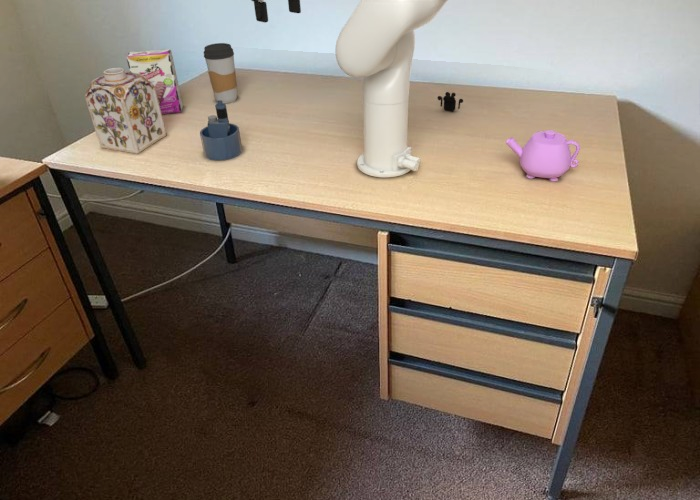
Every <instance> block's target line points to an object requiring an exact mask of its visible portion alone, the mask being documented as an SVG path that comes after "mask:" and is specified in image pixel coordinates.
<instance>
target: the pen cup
mask: <svg viewBox="0 0 700 500" xmlns="http://www.w3.org/2000/svg"><path fill="white" fill-rule="evenodd" d="M229 124H230V133H231V135H229V136H225V137H220V138H210V135H209V130H208V125H206V126H205V127H202V128H201V130H200V131H199V137H200V141H201V146H202V150H203V155H204V157H205V158H206V159H208V160H211V161H220V162H221V161H227V160H228V161H229V160H232V159H235V158H237V157H238V156H240V155H241V154H242V152H243V145H242V138H241V132H240V127H239V126H238V125H237V124H234V123H231V122H229Z"/></svg>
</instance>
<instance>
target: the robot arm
mask: <svg viewBox="0 0 700 500" xmlns="http://www.w3.org/2000/svg"><path fill="white" fill-rule="evenodd" d="M250 1H251V2H253V6H254V13H255V19H256V22H261V23H268V22H269V15H268V14H269V13H268V6H267V2H266V1H264V0H250ZM448 1H449V0H360V1H359V3H358V4H357V5H356V7H355V8H354V10H353V12H352V13H351V15H350V16H349V18H348V19H347V20H346V22H345V24H344V25H343V27H342V29H341V30H340V32H339V34H338V36H337V39H336V42H335V51H334V53H335V58H336V62H337V66H339V68H340V69H341V71H342V72H343V73H344V74H346V75H347V76H349V77H352V78H355V79H356V78H357V79H363V81H362V126H363V128H362V129H363V153H362V154H361V155H359V156H358V158H357V160H356V165H357V166H356V167H357V169H358V170H359V171H360V172H361V173H363V174H365V175H367V176H370V177H375V178H396V177H401V176H403V175H405V174H407V173H409V172H410V171H413V172H417V171H418V170H419V169H420V164H421V160H422V159H421V157H418V156H414V155H413V154H412V147H411V146H408V143H409V142H408V138H409V101H410V100H409V99H410V80H411V70H412V69H411V68H412V64H413V59H414V55H415V54H414V53H415V47H416V34H415V30H417V29H419V28H421V27H424V26H425V25H428V24H429V23H430V22H432V21H433V19H434V18H436V16H437V15H438V14H439V12H440V11H441V10H442V9H443V7H444V6H445V5H446V3H447V2H448ZM287 4H288V11H289V13H294V14H301V13H302V9H301V0H287Z"/></svg>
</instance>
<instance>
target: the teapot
mask: <svg viewBox="0 0 700 500" xmlns="http://www.w3.org/2000/svg"><path fill="white" fill-rule="evenodd" d="M505 144H506V145H507V146H508V148H510V149H511V151H512V152H513V153H514V154H516V155H517V156H518V158H519V164H520V166H521V168H522V170H523V171H524V173H526V178H527V179H535V178H544V179H548V180H549V181H551V182H558V181H559V178H560V177H562V176H563V175H564V174H566V173H567V172H568V171H569V169H570V168H577V167H578V165H579V163H580V162H579V160H578V159H576V158H577V156H578V154H579V153H580V150H581V146H580V143H579V142H578V141H576V140H573V139H570V140H567V138H566V136H565V135H564V134H562V133H560V132H557V131H555V130H552V129H547V130H540V131H536V132H535V133H533V134H532V136H530V138H529V139H528V140H527V142H526V143H525V144H524V146H523V147H522V146H521V145H520V144H519V143H518V142H517V141H516V139H515V138H514V137H513V136H512V137H509V138H508V139H507V140H506V141H505ZM570 145H573V146H575V151H574V152H573V154H572V152H571V149H570Z"/></svg>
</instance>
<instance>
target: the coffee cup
mask: <svg viewBox="0 0 700 500" xmlns="http://www.w3.org/2000/svg"><path fill="white" fill-rule="evenodd" d="M203 49H204V51H203V58H204V59H205V64H206V67H207V68H206V69H207V71H208V72H207V73H208V78H209V80H210V84H211V88H212V92H213V95H214V100H216V102H217V101H219V100H222V103H224V104H229V103H233V102H235V101H237V100H238V85H237V74H236V65H235V58H234V57H235V52H234V48H232V45H231V44H230V43H227V42H218V43H211V44H207V45H205V46H204V47H203Z"/></svg>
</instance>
